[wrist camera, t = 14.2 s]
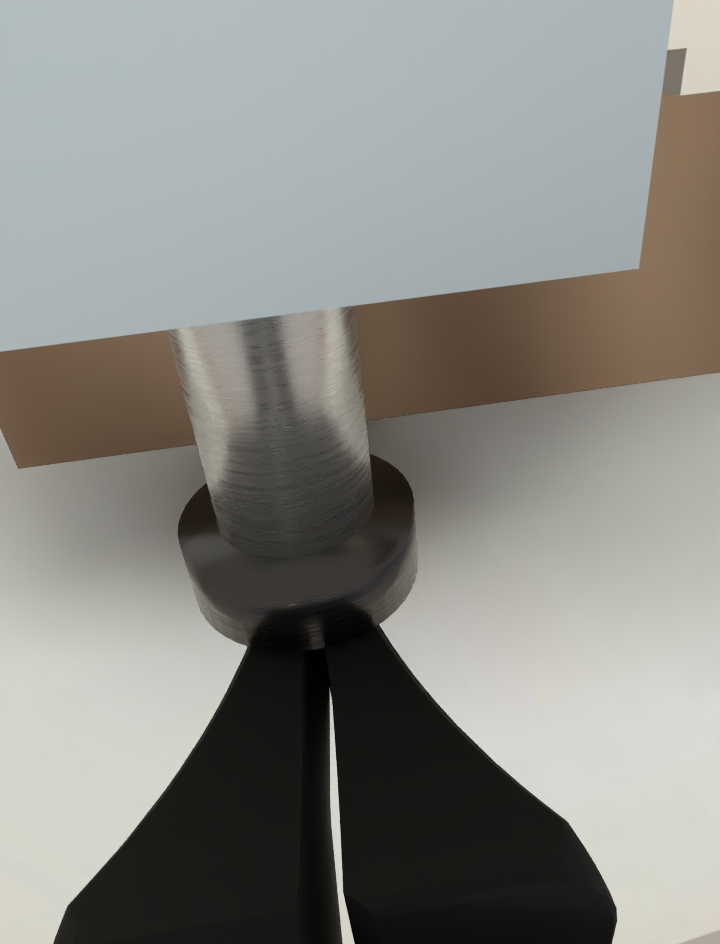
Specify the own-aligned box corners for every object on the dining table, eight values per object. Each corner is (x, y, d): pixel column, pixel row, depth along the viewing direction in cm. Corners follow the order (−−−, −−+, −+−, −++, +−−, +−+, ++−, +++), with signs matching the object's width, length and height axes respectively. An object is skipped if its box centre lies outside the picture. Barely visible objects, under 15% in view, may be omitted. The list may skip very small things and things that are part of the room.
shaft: (295, -835, 5) (329, -1920, 2) (398, 490, 13) (439, 630, 10) (-158, -809, 5) (-721, -1940, 2) (205, 517, 12) (184, 669, 9)
